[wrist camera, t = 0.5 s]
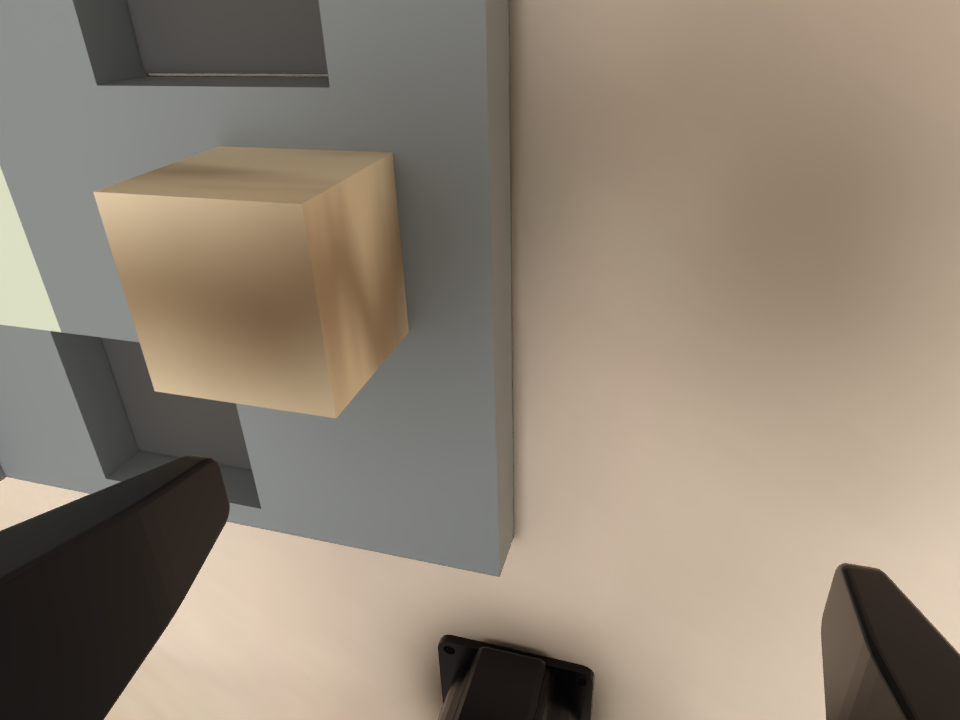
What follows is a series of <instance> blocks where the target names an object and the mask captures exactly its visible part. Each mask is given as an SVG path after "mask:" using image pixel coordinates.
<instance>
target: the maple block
mask: <svg viewBox="0 0 960 720" xmlns="http://www.w3.org/2000/svg"><path fill="white" fill-rule="evenodd" d="M93 193H94V196H95V200H96V203H97V206H98V209H99V213H100V216H101V219H102V222H103V225H104V229H105V232H106V235H107V238H108V242H109V245H110V248H111V251H112V255H113V258H114V261H115V264H116V268H117V271H118V274H119V277H120V281H121V284H122V287H123V290H124V294H125V297H126V300H127V303H128V306H129V310H130V313H131V316H132V319H133V323H134V326H135V329H136V332H137V336H138V339H139V342H140V345H141V349H142V352H143V355H144V358H145V362H146V365H147V368H148V371H149V374H150V378H151V381H152V384H153V387H154V391H156V392H163V393H169V394H176V395H183V396H190V397H196V398H203V399H210V400H216V401H223V402H230V403H236V404H243V405H250V406H256V407H263V408H270V409H276V410H283V411H290V412H296V413H303V414H310V415H317V416H323V417H330V418H337V417H338V416H339V415H340V413H341V412H342V411H343V410H344V409H345V407H346V406H347V405H348V404H349V403H350V401H351V400H352V399H353V398H354V397H355V395H356V394H357V393H358V392H359V391H360V390H361V388H362V387H363V386H364V385H365V384H366V382H367V381H368V380H369V379H370V378H371V376H372V375H373V374H374V373H375V372H376V371H377V369H378V368H379V367H380V366H381V365H382V363H383V362H384V361H385V360H386V359H387V357H388V356H389V355H390V354H391V353H392V351H393V350H394V349H395V348H396V347H397V346H398V344H399V343H400V342H401V341H402V340H403V338H404V337H405V336H406V335H407V334H408V332H409V327H408V316H407V305H406V295H405V284H404V273H403V262H402V251H401V240H400V229H399V218H398V207H397V196H396V186H395V175H394V164H393V153H392V152H366V151H338V150H310V149H282V148H254V147H226V146H219V147H217V148H214V149H211V150H208V151H205V152H203V153H200V154H197V155H194V156H191V157H189V158H186V159H183V160H180V161H178V162H175V163H172V164H169V165H166V166H164V167H161V168H158V169H155V170H152V171H150V172H147V173H144V174H141V175H139V176H136V177H133V178H130V179H127V180H125V181H122V182H119V183H116V184H114V185H111V186H108V187H105V188H102V189H100V190H97V191H94V192H93Z"/></svg>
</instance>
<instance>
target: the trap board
mask: <svg viewBox="0 0 960 720" xmlns="http://www.w3.org/2000/svg"><path fill="white" fill-rule="evenodd" d="M147 73H269V74H328V77H286V76H148V75H147ZM219 146H226V147H254V148H282V149H310V150H338V151H366V152H392V153H393V164H394V175H395V186H396V196H397V207H398V218H399V229H400V240H401V251H402V262H403V273H404V284H405V295H406V305H407V316H408V327H409V332H408V334H407V335H406V336H405V337H404V338H403V340H402V341H401V342H400V343H399V344H398V346H397V347H396V348H395V349H394V350H393V351H392V353H391V354H390V355H389V356H388V357H387V359H386V360H385V361H384V362H383V363H382V365H381V366H380V367H379V368H378V369H377V371H376V372H375V373H374V374H373V375H372V376H371V378H370V379H369V380H368V381H367V382H366V384H365V385H364V386H363V387H362V388H361V390H360V391H359V392H358V393H357V394H356V395H355V397H354V398H353V399H352V400H351V401H350V403H349V404H348V405H347V406H346V407H345V409H344V410H343V411H342V412H341V413H340V415H339V416H338V417H337V418H330V417H323V416H317V415H310V414H303V413H296V412H290V411H283V410H276V409H270V408H263V407H256V406H250V405H243V404H236V403H230V402H223V401H216V400H210V399H203V398H196V397H190V396H183V395H176V394H169V393H163V392H156V391H154V387H153V384H152V381H151V378H150V374H149V371H148V368H147V365H146V362H145V358H144V355H143V352H142V349H141V345H140V342H139V339H138V336H137V332H136V329H135V326H134V323H133V319H132V316H131V313H130V310H129V306H128V303H127V300H126V297H125V294H124V290H123V287H122V284H121V281H120V277H119V274H118V271H117V268H116V264H115V261H114V258H113V255H112V251H111V248H110V245H109V242H108V238H107V235H106V232H105V229H104V225H103V222H102V219H101V216H100V213H99V209H98V206H97V203H96V200H95V196H94V193H93V192H94V191H97V190H100V189H102V188H105V187H108V186H111V185H114V184H116V183H119V182H122V181H125V180H127V179H130V178H133V177H136V176H139V175H141V174H144V173H147V172H150V171H152V170H155V169H158V168H161V167H164V166H166V165H169V164H172V163H175V162H178V161H180V160H183V159H186V158H189V157H191V156H194V155H197V154H200V153H203V152H205V151H208V150H211V149H214V148H217V147H219ZM185 455H197V456H203V457H209V458H213V459H214V460H216V461H217V462H218V464H219V465H220V468H221V472H222V475H223V479H224V483H225V487H226V491H227V494H228V498H229V503H230V512H229V516H228V519H227V522H232V523H237V524H242V525H246V526H251V527H256V528H261V529H266V530H271V531H276V532H281V533H286V534H291V535H296V536H301V537H306V538H311V539H315V540H320V541H325V542H330V543H335V544H340V545H345V546H350V547H355V548H360V549H365V550H370V551H375V552H380V553H384V554H389V555H394V556H399V557H404V558H409V559H414V560H419V561H424V562H429V563H434V564H439V565H444V566H449V567H454V568H458V569H463V570H468V571H473V572H478V573H483V574H488V575H493V576H498V577H500V574H501V571H502V568H503V565H504V563H505V560H506V557H507V554H508V551H509V548H510V546H511V543H512V540H513V537H514V499H513V397H512V296H511V194H510V93H509V0H0V481H1V480H3V479H4V478H5V477H10V478H15V479H20V480H25V481H30V482H35V483H39V484H44V485H49V486H54V487H59V488H64V489H69V490H74V491H79V492H84V493H89V494H92V493H94V492H97V491H99V490H102V489H104V488H107V487H109V486H112V485H114V484H116V483H119V482H121V481H124V480H126V479H129V478H131V477H134V476H136V475H138V474H141V473H143V472H146V471H148V470H151V469H153V468H156V467H158V466H160V465H163V464H165V463H168V462H170V461H173V460H175V459H178V458H180V457H182V456H185Z"/></svg>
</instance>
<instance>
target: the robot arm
mask: <svg viewBox="0 0 960 720" xmlns="http://www.w3.org/2000/svg"><path fill="white" fill-rule="evenodd" d="M229 512H230V503H229V498H228V494H227V491H226V487H225V483H224V479H223V475H222V472H221V468H220V465H219V464H218V462H217V461H216V460H214V459H213V458H209V457H203V456H197V455H185V456H182V457H180V458H178V459H175V460H173V461H170V462H168V463H165V464H163V465H160V466H158V467H156V468H153V469H151V470H148V471H146V472H143V473H141V474H138V475H136V476H134V477H131V478H129V479H126V480H124V481H121V482H119V483H116V484H114V485H112V486H109V487H107V488H104V489H102V490H99V491H97V492H94V493H92V494H90V495H87V496H85V497H82V498H80V499H77V500H75V501H72V502H70V503H68V504H65V505H63V506H60V507H58V508H55V509H53V510H50V511H48V512H46V513H43V514H41V515H38V516H36V517H33V518H31V519H28V520H26V521H24V522H21V523H19V524H16V525H14V526H11V527H9V528H6V529H4V530H2V531H0V720H104V718H105V717H106V715H107V714H108V713H109V711H110V710H111V708H112V707H113V705H114V704H115V702H116V701H117V699H118V698H119V696H120V695H121V693H122V692H123V691H124V689H125V688H126V686H127V685H128V683H129V682H130V680H131V679H132V677H133V676H134V674H135V673H136V672H137V670H138V669H139V667H140V666H141V664H142V663H143V661H144V660H145V658H146V657H147V655H148V654H149V652H150V651H151V650H152V648H153V647H154V645H155V644H156V642H157V641H158V639H159V638H160V636H161V635H162V633H163V632H164V630H165V629H166V627H167V626H168V624H169V623H170V621H171V620H172V618H173V617H174V615H175V613H176V612H177V610H178V608H179V606H180V605H181V603H182V601H183V600H184V598H185V596H186V594H187V593H188V591H189V589H190V587H191V585H192V583H193V582H194V580H195V578H196V576H197V574H198V573H199V571H200V569H201V567H202V565H203V564H204V562H205V560H206V558H207V556H208V555H209V553H210V551H211V549H212V547H213V545H214V544H215V542H216V540H217V538H218V536H219V535H220V533H221V531H222V529H223V527H224V526H225V524H226V522H227V519H228V516H229ZM821 640H822V656H823V673H824V689H825V705H826V720H960V654H959V653H958V652H957V651H956V650H955V648H954V647H953V646H952V645H951V644H950V643H949V642H948V641H947V640H946V639H945V638H944V637H943V635H942V634H941V633H940V632H939V631H938V630H937V629H936V628H935V627H934V626H933V625H932V623H931V622H930V621H929V620H928V619H927V618H926V617H925V616H924V615H923V614H922V613H921V612H920V610H919V609H918V608H917V607H916V606H915V605H914V604H913V603H912V602H911V601H910V600H909V599H908V597H907V596H906V595H905V594H904V593H903V592H902V591H901V590H900V589H899V588H898V587H897V585H896V584H895V583H894V582H893V581H892V580H891V579H890V578H889V577H888V576H887V575H886V574H885V573H884V572H883V571H881V570H880V569H877V568H872V567H866V566H860V565H854V564H848V563H844V564H841V565H839V566H838V567H837V569H836V571H835V574H834V577H833V581H832V584H831V588H830V591H829V595H828V598H827V602H826V605H825V609H824V613H823V617H822V626H821ZM438 653H439V664H440V675H441V685H442V696H443V707H442V710H441V712H440V715H439V718H438V720H591V716H592V703H593V690H594V677H595V676H594V673H593V671H592V670H591V669H589V668H588V667H586V666H583V665H579V664H574V663H570V662H566V661H561V660H557V659H553V658H548V657H544V656H540V655H535V654H531V653H527V652H522V651H518V650H514V649H509V648H505V647H501V646H496V645H492V644H488V643H483V642H479V641H475V640H470V639H466V638H462V637H457V636H453V635H444V636H443V637H442V638H441V640H440V642H439V645H438ZM581 677H582V678H581Z"/></svg>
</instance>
